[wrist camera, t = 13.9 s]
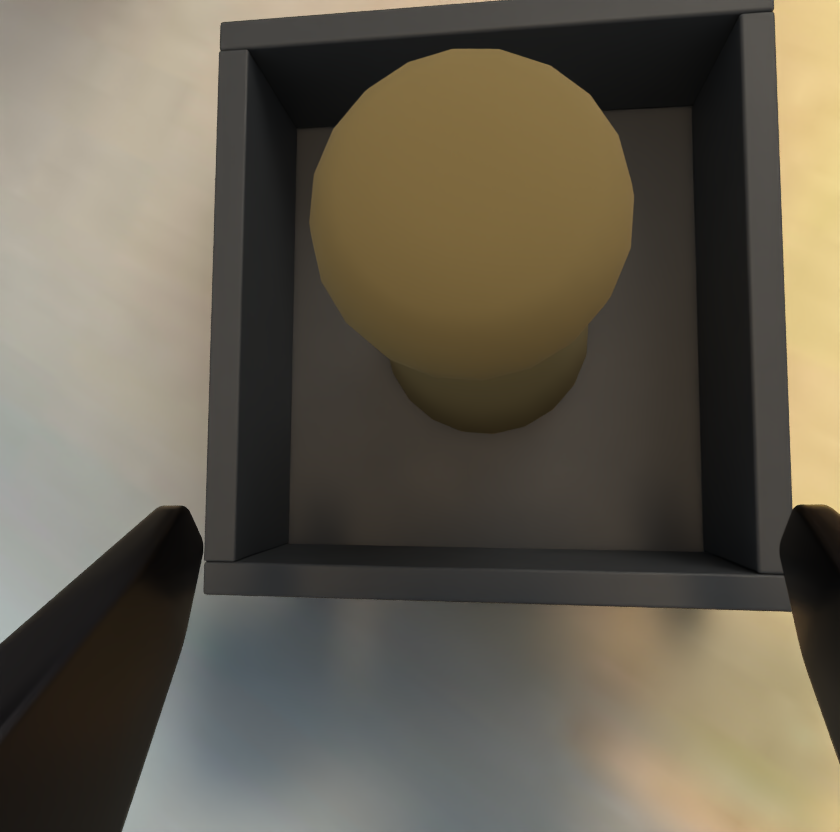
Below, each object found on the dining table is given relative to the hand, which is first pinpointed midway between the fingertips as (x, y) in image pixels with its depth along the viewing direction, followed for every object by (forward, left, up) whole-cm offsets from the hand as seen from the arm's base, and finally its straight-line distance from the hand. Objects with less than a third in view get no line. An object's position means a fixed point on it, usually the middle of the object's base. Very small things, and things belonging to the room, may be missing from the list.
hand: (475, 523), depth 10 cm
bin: (+5, 0, -10) cm, 12 cm away
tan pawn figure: (+5, +1, -10) cm, 11 cm away
